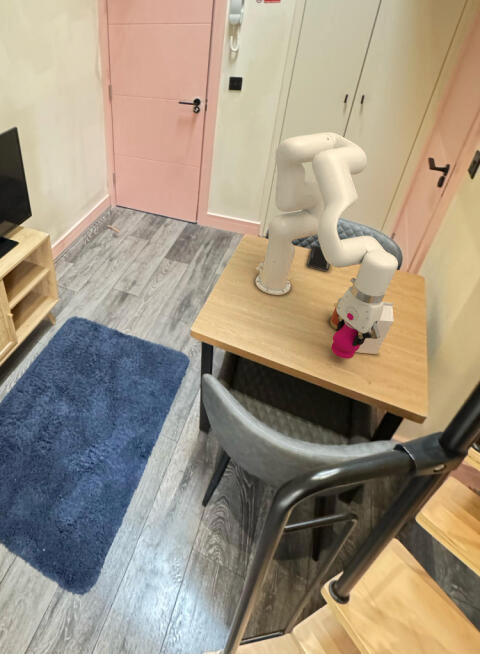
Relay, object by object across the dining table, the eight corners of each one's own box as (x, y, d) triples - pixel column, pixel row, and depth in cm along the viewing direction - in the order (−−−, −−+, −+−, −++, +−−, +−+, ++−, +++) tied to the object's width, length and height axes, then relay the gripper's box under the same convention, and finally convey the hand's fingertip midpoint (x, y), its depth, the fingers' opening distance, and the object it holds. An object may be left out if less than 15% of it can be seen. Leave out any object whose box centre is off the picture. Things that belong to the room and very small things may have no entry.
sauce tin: (325, 321, 139) (332, 300, 133) (340, 315, 141) (348, 294, 135) (340, 334, 134) (349, 313, 128) (356, 328, 135) (365, 307, 130)
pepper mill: (324, 343, 126) (342, 296, 115) (346, 340, 126) (366, 293, 115) (337, 361, 120) (357, 314, 109) (361, 358, 120) (383, 311, 109)
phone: (332, 250, 169) (328, 270, 159) (332, 252, 170) (327, 272, 159) (312, 245, 173) (306, 264, 162) (311, 247, 173) (306, 266, 163)
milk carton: (377, 354, 126) (398, 311, 115) (352, 352, 128) (371, 309, 117) (369, 337, 132) (388, 295, 121) (345, 335, 133) (362, 293, 123)
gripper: (331, 277, 115) (316, 321, 125) (385, 316, 102) (363, 362, 112) (352, 270, 117) (335, 314, 127) (407, 308, 103) (383, 354, 114)
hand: (348, 336), depth 119 cm, fingers closed on pepper mill, 5 cm apart
